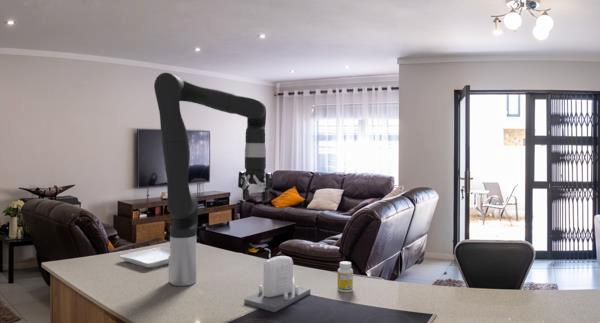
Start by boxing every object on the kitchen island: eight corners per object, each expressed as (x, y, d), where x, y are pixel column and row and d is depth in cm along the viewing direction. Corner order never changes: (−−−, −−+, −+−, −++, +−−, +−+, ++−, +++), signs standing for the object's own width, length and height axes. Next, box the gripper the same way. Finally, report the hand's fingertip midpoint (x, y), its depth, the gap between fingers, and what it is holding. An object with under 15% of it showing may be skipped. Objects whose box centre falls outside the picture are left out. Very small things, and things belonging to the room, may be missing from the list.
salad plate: (160, 253, 199) (160, 245, 199) (190, 260, 186) (190, 252, 186) (118, 263, 182) (118, 255, 182) (148, 272, 169) (148, 263, 169)
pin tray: (244, 303, 136) (244, 291, 136) (281, 286, 152) (282, 275, 152) (274, 312, 129) (274, 299, 129) (310, 293, 146) (310, 281, 146)
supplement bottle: (350, 293, 146) (350, 265, 146) (335, 291, 148) (335, 263, 148) (354, 288, 151) (354, 261, 151) (339, 286, 153) (340, 259, 153)
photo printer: (287, 289, 146) (287, 252, 145) (294, 292, 142) (295, 255, 142) (261, 295, 139) (261, 257, 139) (268, 299, 136) (268, 260, 135)
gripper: (277, 156, 153) (277, 201, 153) (247, 155, 161) (246, 198, 161) (264, 156, 146) (264, 203, 147) (233, 155, 154) (233, 200, 155)
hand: (255, 201), depth 154 cm, fingers open, 8 cm apart
